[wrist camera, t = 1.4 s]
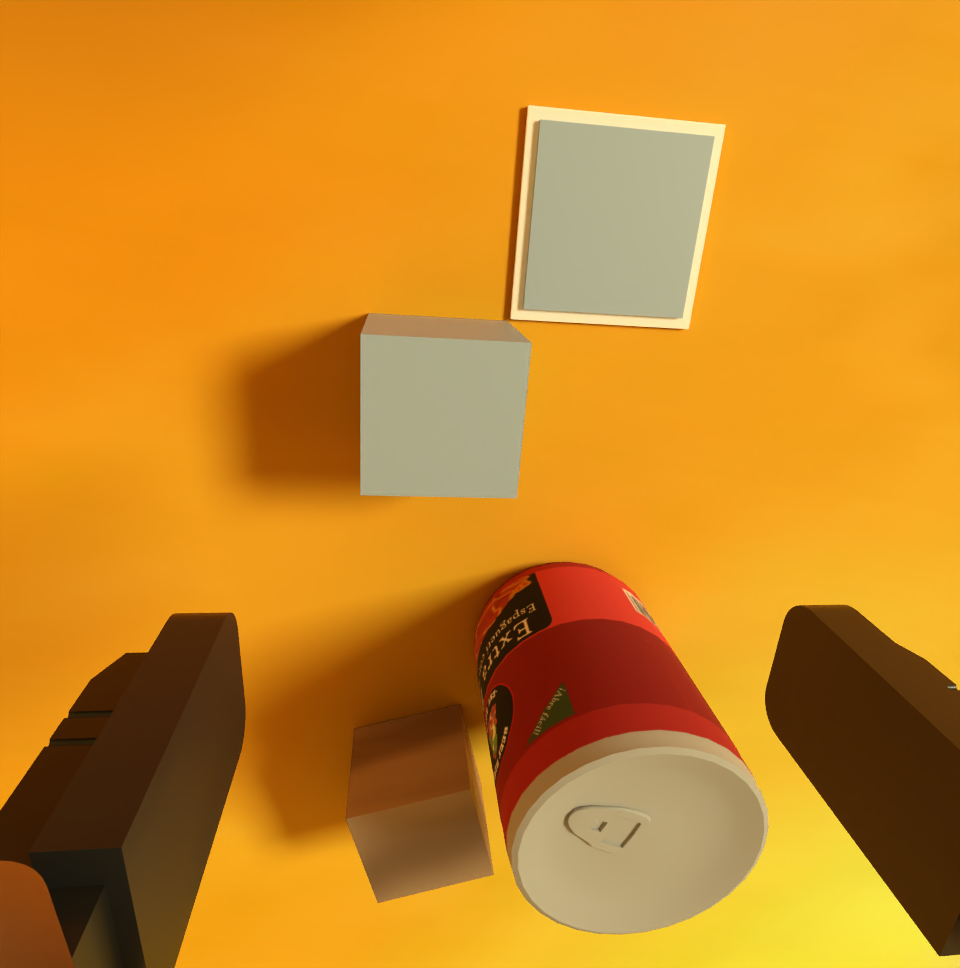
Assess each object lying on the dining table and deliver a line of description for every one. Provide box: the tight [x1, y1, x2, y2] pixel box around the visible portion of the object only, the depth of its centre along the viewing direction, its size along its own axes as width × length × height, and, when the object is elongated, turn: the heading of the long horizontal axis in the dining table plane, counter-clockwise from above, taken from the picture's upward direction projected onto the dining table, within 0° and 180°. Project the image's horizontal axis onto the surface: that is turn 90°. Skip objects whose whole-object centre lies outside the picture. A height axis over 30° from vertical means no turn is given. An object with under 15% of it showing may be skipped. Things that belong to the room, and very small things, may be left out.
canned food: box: [474, 562, 768, 934], centre depth 24 cm, size 8×8×11 cm
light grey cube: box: [360, 313, 532, 498], centre depth 22 cm, size 5×5×5 cm
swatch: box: [510, 105, 726, 329], centre depth 23 cm, size 7×7×1 cm
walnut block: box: [346, 704, 494, 903], centre depth 28 cm, size 5×5×5 cm
